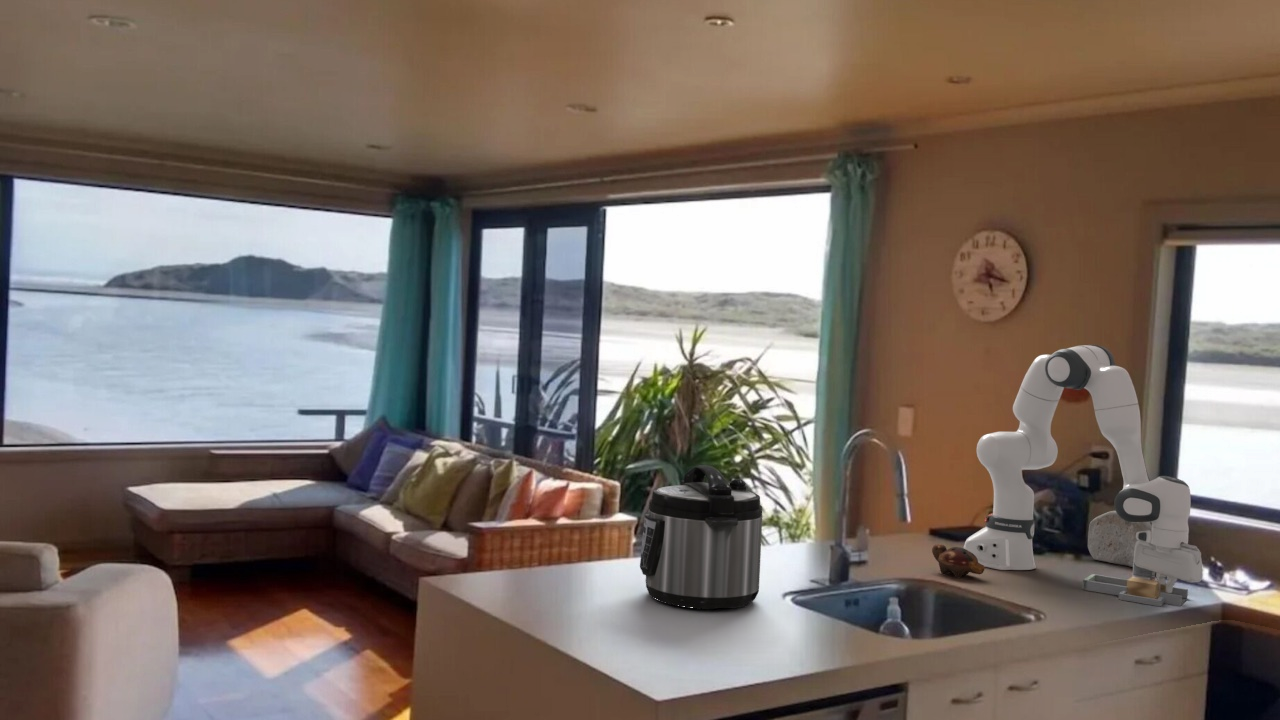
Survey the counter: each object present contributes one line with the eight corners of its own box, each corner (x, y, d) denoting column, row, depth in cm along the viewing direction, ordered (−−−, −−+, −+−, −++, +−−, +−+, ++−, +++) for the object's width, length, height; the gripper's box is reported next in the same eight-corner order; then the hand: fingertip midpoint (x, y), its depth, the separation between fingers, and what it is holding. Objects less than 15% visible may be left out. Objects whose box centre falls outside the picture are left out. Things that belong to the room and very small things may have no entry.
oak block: (1126, 595, 300) (1127, 580, 299) (1131, 591, 304) (1132, 576, 304) (1154, 600, 295) (1155, 584, 295) (1159, 596, 300) (1160, 581, 300)
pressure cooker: (665, 578, 289) (672, 454, 288) (772, 594, 279) (780, 465, 278) (619, 603, 261) (627, 466, 260) (737, 621, 251) (745, 479, 250)
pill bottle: (1156, 585, 314) (1159, 550, 313) (1134, 583, 315) (1137, 548, 314) (1151, 581, 319) (1154, 546, 319) (1130, 579, 320) (1132, 544, 320)
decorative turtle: (934, 567, 321) (938, 540, 321) (987, 580, 313) (992, 552, 312) (922, 571, 313) (927, 542, 313) (976, 584, 305) (981, 555, 304)
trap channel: (1078, 592, 300) (1078, 583, 299) (1091, 582, 313) (1092, 573, 313) (1177, 609, 286) (1178, 599, 286) (1187, 598, 299) (1188, 589, 299)
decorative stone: (1162, 569, 339) (1148, 573, 332) (1097, 555, 353) (1083, 559, 346) (1167, 513, 338) (1153, 516, 331) (1101, 502, 352) (1087, 505, 345)
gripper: (1210, 547, 288) (1206, 601, 289) (1150, 531, 307) (1146, 582, 308) (1191, 547, 286) (1187, 601, 286) (1131, 531, 305) (1127, 582, 306)
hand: (1165, 591), depth 297 cm, fingers closed
